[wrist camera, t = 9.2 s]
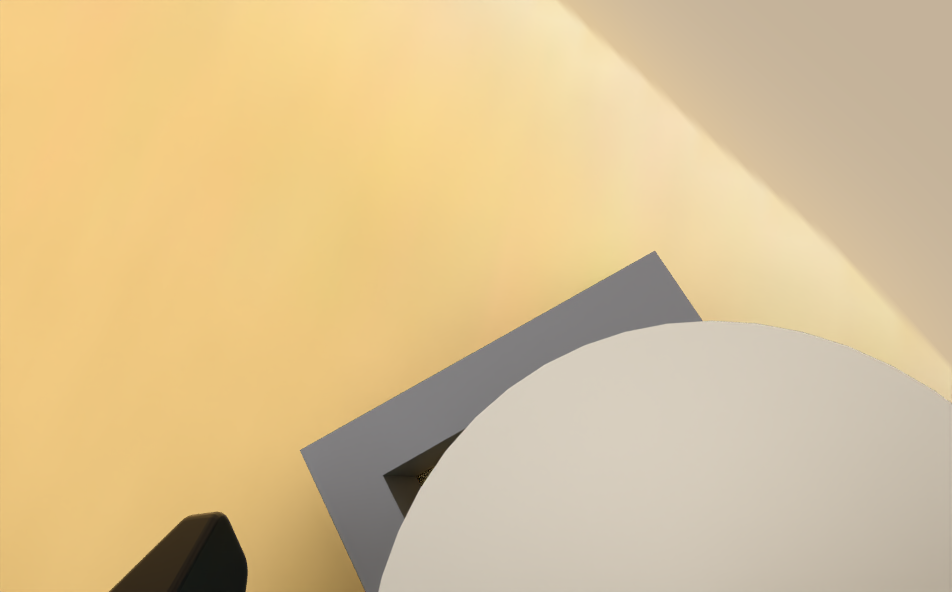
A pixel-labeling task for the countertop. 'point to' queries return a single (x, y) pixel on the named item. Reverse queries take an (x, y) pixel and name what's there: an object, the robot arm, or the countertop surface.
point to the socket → (466, 407)
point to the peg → (692, 474)
